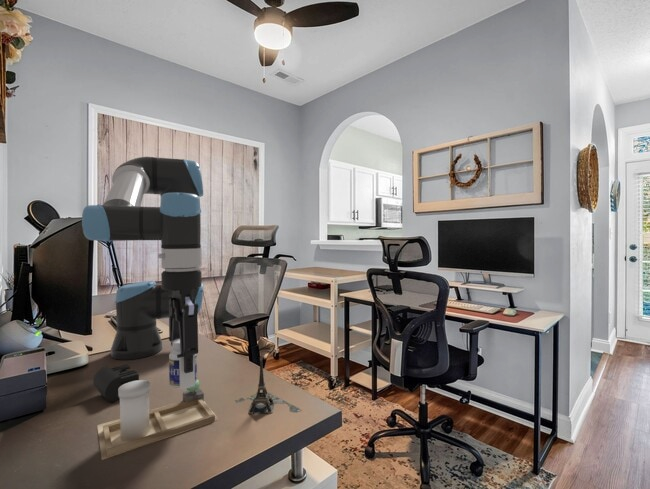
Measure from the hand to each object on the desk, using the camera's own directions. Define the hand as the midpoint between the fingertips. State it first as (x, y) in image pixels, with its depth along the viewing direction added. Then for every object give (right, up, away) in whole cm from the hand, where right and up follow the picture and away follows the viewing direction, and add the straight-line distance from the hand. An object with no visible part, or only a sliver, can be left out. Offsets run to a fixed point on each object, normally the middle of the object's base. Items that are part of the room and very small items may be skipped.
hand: (183, 381), depth 68 cm
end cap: (-21, -9, +12) cm, 26 cm away
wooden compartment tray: (-4, -9, -1) cm, 10 cm away
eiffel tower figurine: (+15, -9, +7) cm, 19 cm away
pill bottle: (0, 0, 0) cm, 0 cm away
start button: (-1, -7, +7) cm, 10 cm away
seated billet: (-7, -8, -5) cm, 12 cm away
